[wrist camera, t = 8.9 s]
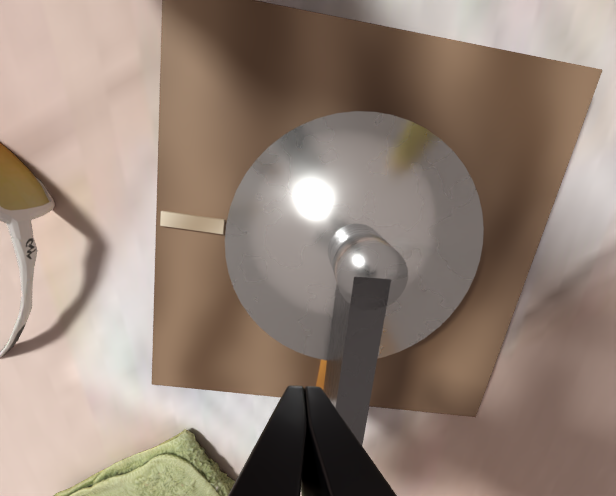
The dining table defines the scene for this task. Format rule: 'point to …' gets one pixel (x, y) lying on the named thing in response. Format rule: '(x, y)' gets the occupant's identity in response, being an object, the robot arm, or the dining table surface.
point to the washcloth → (159, 473)
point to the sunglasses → (21, 225)
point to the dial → (354, 244)
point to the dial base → (322, 102)
